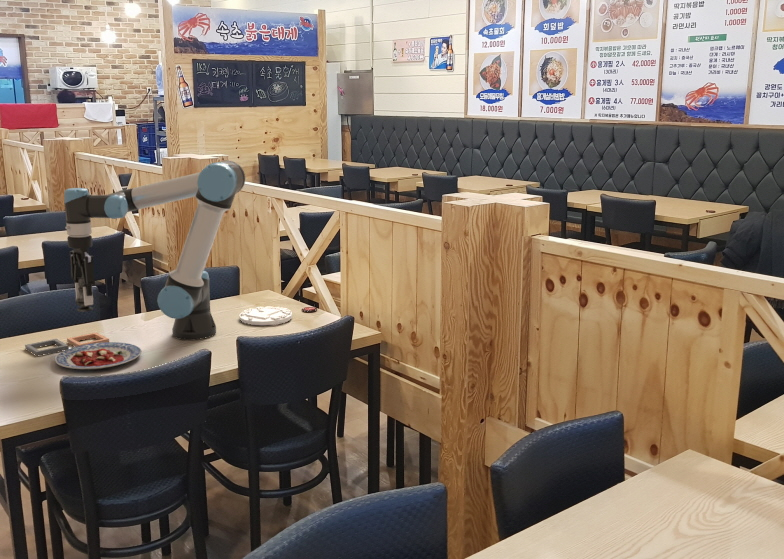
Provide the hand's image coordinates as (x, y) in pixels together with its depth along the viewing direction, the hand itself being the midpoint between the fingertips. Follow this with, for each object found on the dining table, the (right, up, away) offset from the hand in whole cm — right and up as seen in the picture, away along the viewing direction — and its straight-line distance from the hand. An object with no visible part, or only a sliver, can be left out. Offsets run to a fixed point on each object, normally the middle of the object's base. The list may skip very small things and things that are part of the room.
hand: (84, 302), depth 257 cm
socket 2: (0, -14, +3) cm, 14 cm away
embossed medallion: (+55, -8, +35) cm, 66 cm away
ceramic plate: (+10, -18, -14) cm, 25 cm away
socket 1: (-11, -15, -4) cm, 19 cm away
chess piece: (0, -2, +1) cm, 3 cm away
